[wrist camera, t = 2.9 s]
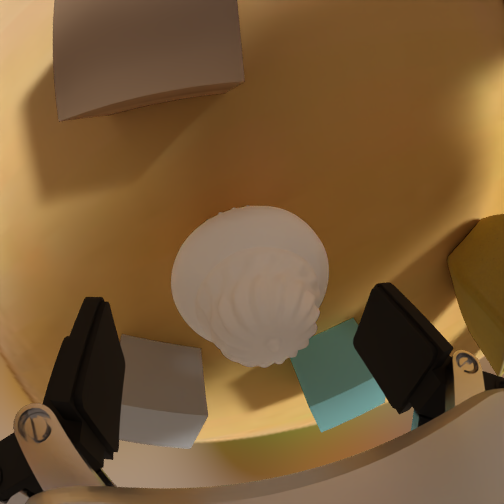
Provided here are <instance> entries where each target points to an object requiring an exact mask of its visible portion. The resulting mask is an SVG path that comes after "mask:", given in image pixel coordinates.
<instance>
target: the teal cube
mask: <svg viewBox="0 0 504 504" xmlns="http://www.w3.org/2000/svg"><path fill="white" fill-rule="evenodd" d="M357 328H358V324H357V323H356V321H355V320H354V318H351V319H349V320H347V321H345V322H343V323H341V324H339V325H337V326H335V327H332V328H330V329H328V330H326V331H324V332H321V333H319V334H317V335H315V336H312V337H311V338H309V345H308V346H307V347H306V348H304V349H301V350H298V353H297V355H296V357H293V358H290V359H291V362H292V364H293V367H294V370H295V372H296V375H297V377H298V380H299V382H300V385H301V388H302V390H303V393H304V395H305V398H306V400H307V403H308V406H309V408H310V410H311V412H312V414H313V416H314V418H315V420H316V422H317V425H318V427H319V429H320V431H321V432H323V431H325V430H328V429H330V428H332V427H335V426H337V425H340V424H342V423H344V422H346V421H348V420H351V419H353V418H355V417H357V416H359V415H361V414H363V413H365V412H367V411H369V410H371V409H373V408H375V407H377V406H379V405H381V404H383V403H385V395H384V393H383V392H382V390H381V388H380V387H379V385H378V384H377V382H376V381H375V379H374V377H373V376H372V374H371V373H370V371H369V370H368V368H367V366H366V365H365V363H364V362H363V360H362V359H361V357H360V356H359V354H358V353H357V351H356V350H355V348H354V346H353V338H354V336H355V333H356V331H357Z"/></svg>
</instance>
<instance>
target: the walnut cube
mask: <svg viewBox="0 0 504 504" xmlns="http://www.w3.org/2000/svg"><path fill="white" fill-rule="evenodd" d="M53 68H54V83H55V94H56V104H57V112H58V119H59V122H60V121H66V120H72V119H80V118H88V117H96V116H106V115H112V114H115V113H119V112H123V111H127V110H131V109H135V108H139V107H144V106H148V105H153V104H158V103H163V102H168V101H173V100H179V99H185V98H192V97H198V96H206V95H214V94H222V93H226V92H228V91H229V90H231V89H233V88H234V87H236V86H238V85H239V84H241V83H243V82H245V78H244V67H243V57H242V46H241V36H240V25H239V15H238V5H237V0H55V2H54V16H53Z"/></svg>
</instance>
